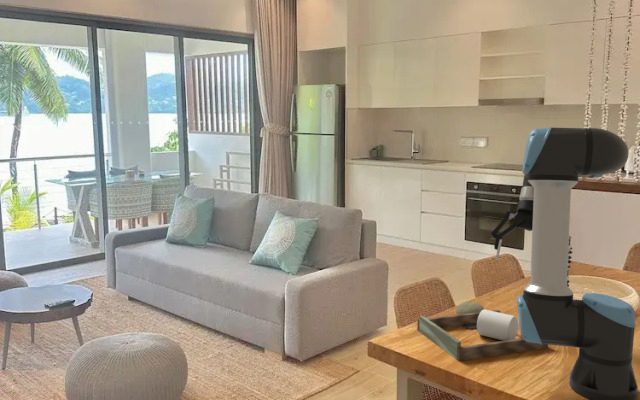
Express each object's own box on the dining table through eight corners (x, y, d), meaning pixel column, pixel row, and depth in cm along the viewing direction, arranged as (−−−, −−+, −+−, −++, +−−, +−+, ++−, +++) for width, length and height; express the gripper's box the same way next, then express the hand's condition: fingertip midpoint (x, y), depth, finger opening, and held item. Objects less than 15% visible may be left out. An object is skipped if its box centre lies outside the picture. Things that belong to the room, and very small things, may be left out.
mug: (507, 346, 166) (509, 320, 165) (475, 337, 173) (476, 312, 172) (522, 334, 176) (523, 309, 174) (491, 327, 182) (492, 303, 181)
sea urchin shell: (459, 304, 198) (476, 291, 194) (474, 322, 196) (491, 310, 192) (450, 311, 191) (467, 298, 187) (465, 330, 188) (483, 318, 184)
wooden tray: (497, 319, 188) (498, 305, 187) (548, 347, 165) (549, 331, 164) (417, 330, 179) (417, 315, 178) (458, 361, 156) (459, 343, 155)
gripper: (569, 213, 184) (558, 275, 178) (491, 199, 192) (478, 258, 186) (573, 206, 177) (561, 271, 172) (492, 191, 185) (479, 252, 180)
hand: (518, 264), depth 179 cm, fingers open, 13 cm apart
